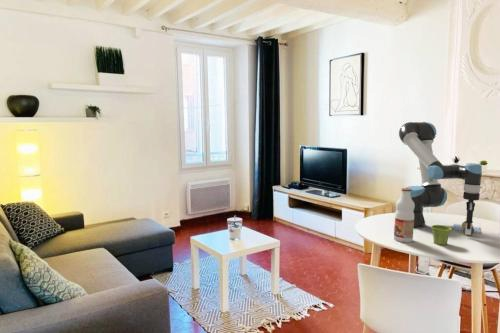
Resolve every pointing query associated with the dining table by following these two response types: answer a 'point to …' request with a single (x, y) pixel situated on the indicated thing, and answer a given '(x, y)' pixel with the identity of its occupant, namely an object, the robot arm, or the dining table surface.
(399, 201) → the fruit juice
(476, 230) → the mark
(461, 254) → the dining table surface
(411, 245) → the dining table surface
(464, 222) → the ball
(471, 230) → the ball
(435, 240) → the plant pot
